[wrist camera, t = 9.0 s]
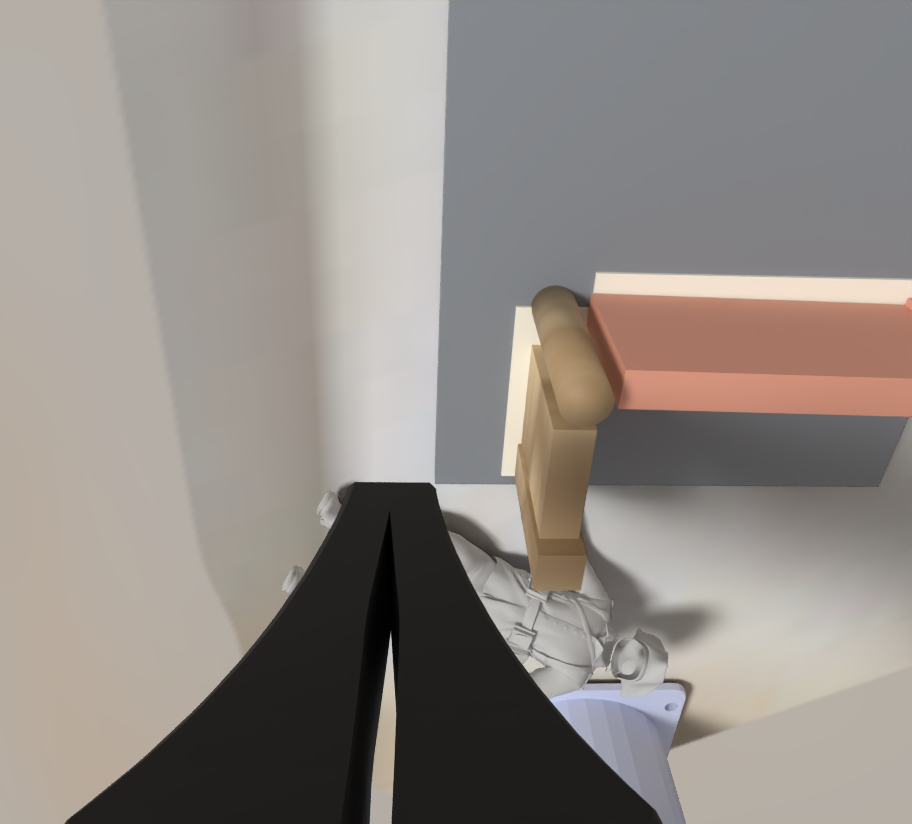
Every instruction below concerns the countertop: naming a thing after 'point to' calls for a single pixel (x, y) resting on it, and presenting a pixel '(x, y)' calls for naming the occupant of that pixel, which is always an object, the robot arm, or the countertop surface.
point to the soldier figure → (548, 622)
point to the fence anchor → (559, 439)
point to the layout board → (668, 208)
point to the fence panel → (754, 354)
